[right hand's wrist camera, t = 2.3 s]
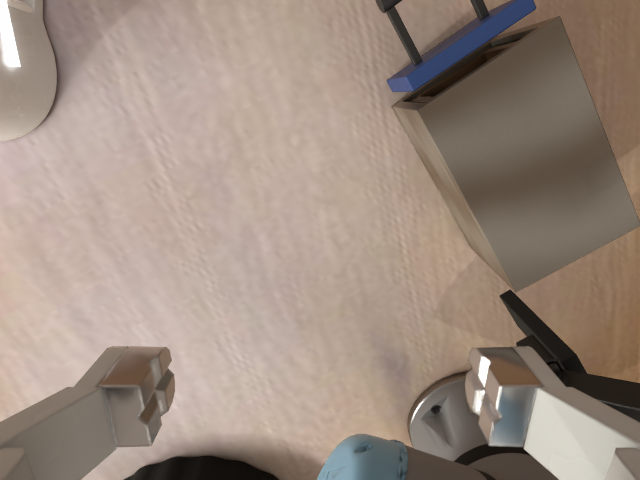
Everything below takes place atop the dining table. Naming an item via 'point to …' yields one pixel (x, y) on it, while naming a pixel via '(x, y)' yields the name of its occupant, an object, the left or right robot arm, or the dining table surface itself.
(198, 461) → the sign
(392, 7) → the drawer
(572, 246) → the metal storage bin
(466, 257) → the dining table surface
